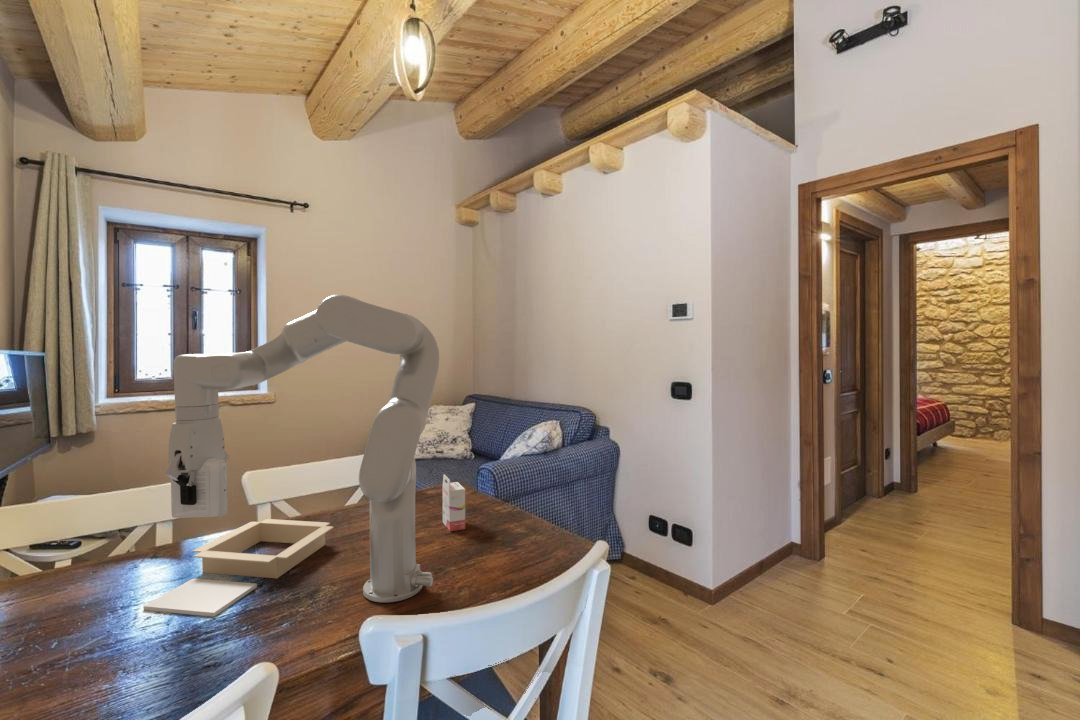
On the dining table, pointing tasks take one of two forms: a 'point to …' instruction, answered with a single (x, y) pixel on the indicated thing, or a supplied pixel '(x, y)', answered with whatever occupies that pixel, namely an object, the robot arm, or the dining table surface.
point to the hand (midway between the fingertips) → (200, 498)
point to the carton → (229, 560)
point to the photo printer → (204, 492)
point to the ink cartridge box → (453, 505)
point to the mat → (201, 597)
